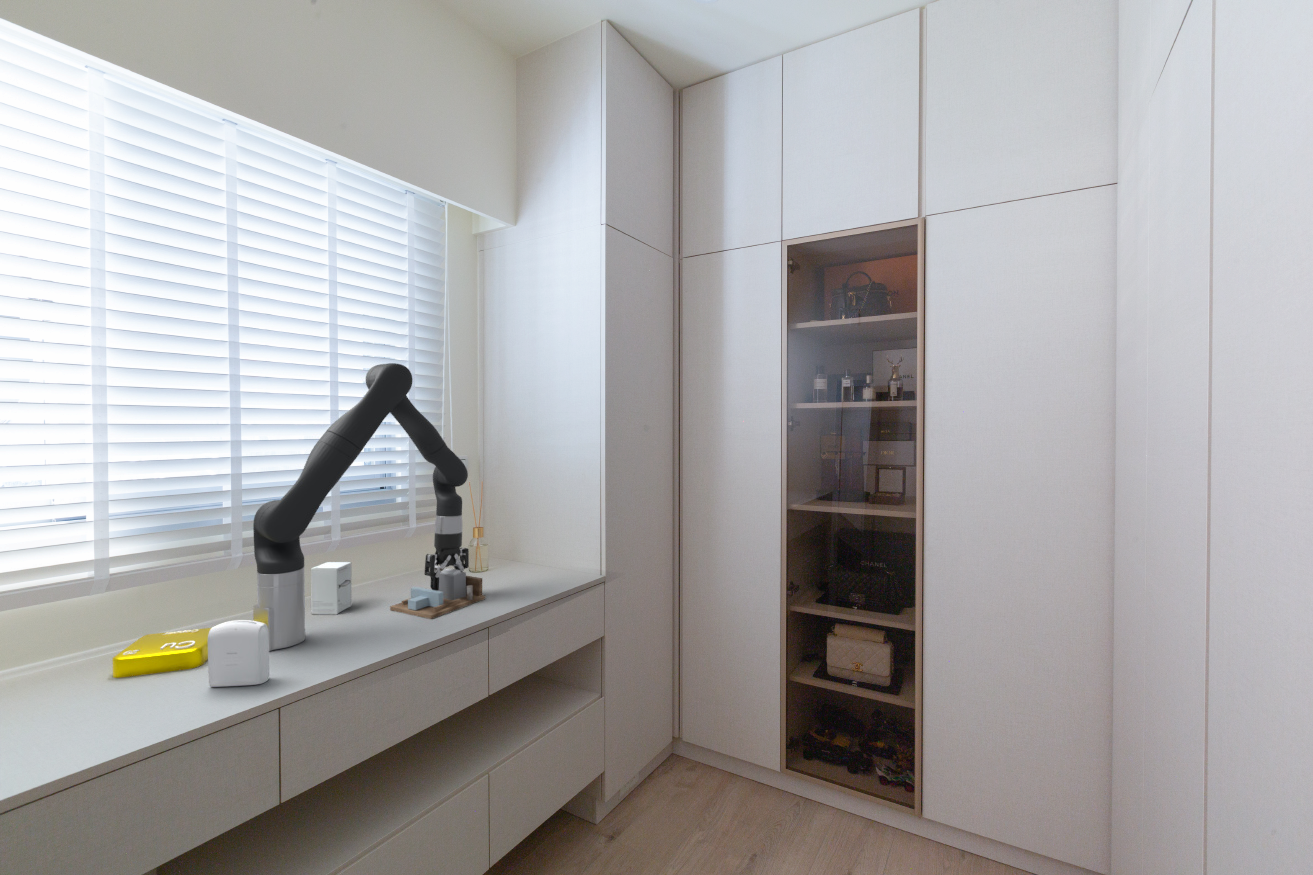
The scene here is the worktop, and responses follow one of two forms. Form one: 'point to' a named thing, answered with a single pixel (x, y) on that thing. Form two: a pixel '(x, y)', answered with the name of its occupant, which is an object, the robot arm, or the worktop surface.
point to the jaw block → (452, 584)
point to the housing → (446, 601)
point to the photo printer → (238, 653)
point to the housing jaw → (424, 598)
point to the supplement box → (331, 588)
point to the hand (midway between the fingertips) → (446, 587)
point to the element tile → (163, 653)
